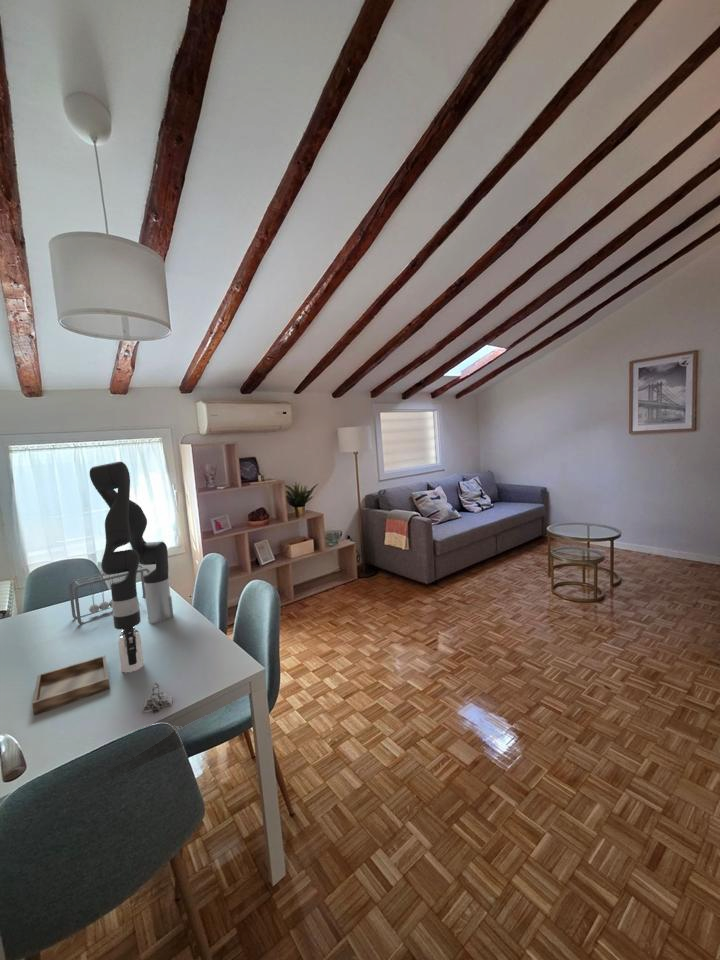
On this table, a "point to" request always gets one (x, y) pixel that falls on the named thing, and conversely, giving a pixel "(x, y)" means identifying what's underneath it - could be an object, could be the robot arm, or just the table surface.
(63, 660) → the table surface
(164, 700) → the grey jagged ornament
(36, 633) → the table surface
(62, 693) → the tray
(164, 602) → the robot arm
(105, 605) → the newton's cradle
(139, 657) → the can
